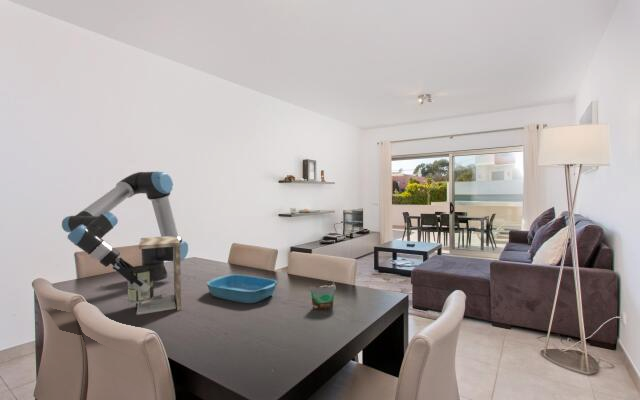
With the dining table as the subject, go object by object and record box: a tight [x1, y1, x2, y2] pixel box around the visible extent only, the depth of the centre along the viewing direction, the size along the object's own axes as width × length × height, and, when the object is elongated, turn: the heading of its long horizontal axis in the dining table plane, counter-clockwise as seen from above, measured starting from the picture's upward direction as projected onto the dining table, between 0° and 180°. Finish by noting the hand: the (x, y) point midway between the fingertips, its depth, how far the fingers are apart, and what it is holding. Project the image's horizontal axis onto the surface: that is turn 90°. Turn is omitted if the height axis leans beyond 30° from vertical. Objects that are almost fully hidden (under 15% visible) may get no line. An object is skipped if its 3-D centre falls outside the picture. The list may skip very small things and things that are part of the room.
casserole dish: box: [206, 273, 278, 304], centre depth 161 cm, size 37×22×7 cm, turn 61°
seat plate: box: [136, 294, 177, 316], centre depth 147 cm, size 15×18×2 cm
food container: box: [309, 282, 337, 311], centre depth 142 cm, size 12×6×10 cm, turn 117°
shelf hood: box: [138, 236, 182, 312], centre depth 148 cm, size 16×24×30 cm, turn 27°
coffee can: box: [126, 264, 155, 304], centre depth 144 cm, size 10×10×14 cm
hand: (148, 286), depth 145 cm, fingers closed on coffee can, 10 cm apart
